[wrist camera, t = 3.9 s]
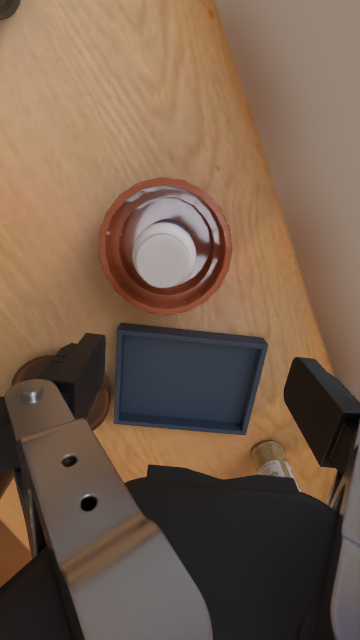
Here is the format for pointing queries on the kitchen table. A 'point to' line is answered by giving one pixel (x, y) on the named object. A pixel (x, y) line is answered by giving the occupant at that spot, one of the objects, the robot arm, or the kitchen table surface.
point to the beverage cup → (8, 8)
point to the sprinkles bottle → (271, 460)
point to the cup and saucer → (100, 401)
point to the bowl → (142, 211)
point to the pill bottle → (164, 254)
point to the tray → (186, 379)
